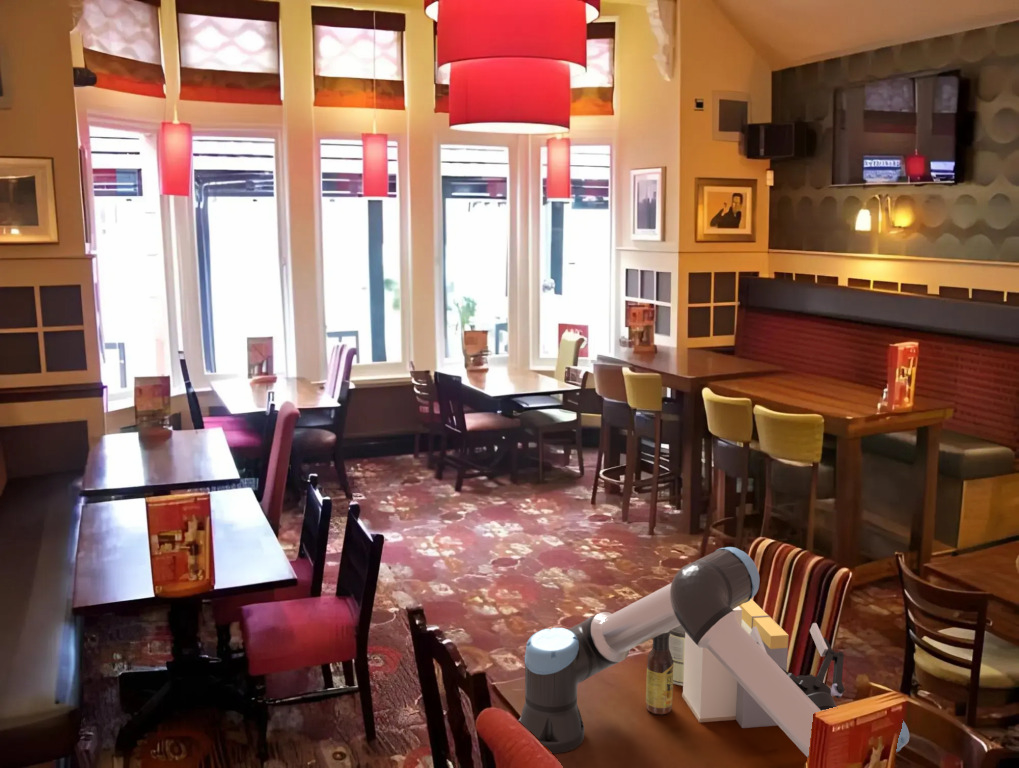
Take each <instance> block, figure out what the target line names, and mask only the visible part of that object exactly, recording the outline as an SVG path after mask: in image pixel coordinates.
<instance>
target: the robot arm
mask: <svg viewBox="0 0 1019 768" xmlns="http://www.w3.org/2000/svg"><path fill="white" fill-rule="evenodd" d="M760 578H761V577H760V574H759V570H758V567H757V565H756V563H755V562H754V560H753V559H752V558H751V556H749V554H748V553H746V552H745V551H743V550H741V549H739V548H737V547H733V546H726V547H720V548H718V549H715V551H714V552H712V553H709V554H707V555H705V556H703V557H701V558H699V559H697V560H694V561H693V562H690V563H688V564H685V565H684V566H683V567H681V568H680V569H679V570H678V571H677V572H676V573H675V575H674V577H673V579H672V580H671V582H670V583H669V584H666V585H665V586H662V587H661V588H659V589H656V590H655V591H654V592H652V593H649V594H647V595H646V596H644V597H642V598H640V599H638V600H636V601H634V602H632V603H630V604H628V605H627V606H624V607H623V608H621V609H619V610H616V611H615V612H613V613H611V612H609V611H607V612H606V611H602V612H599V613H596V614H595V615H593V616H591V617H589V618H586V619H585V620H584V621H582V622H580V623H578V624H576V625H573V626H572V627H570V628H568V629H567V628H564V627H552V628H543V629H541V630H538V631H537V632H535V633H533V634H532V635H531V636H530V637H529V639H528V640H527V642H526V646H525V652H524V653H525V654H524V670H525V671H524V681H525V682H524V683H525V684H524V685H525V686H524V687H525V689H524V693H525V695H524V699H525V701H524V704H523V707H522V710H521V715H520V717H519V719H518V721H520V722H521V723H522V724H523V725H524V726H525V727H526V728H527V729H528V730H529V731H531V732H532V733H533V734H534V735H535V736H536V737H537V738H538V739H539V741H540V742H541V743H542V744H543V745H544V746H546V747H547V748H548V749H549V750H550V751H551V752H552V753H551V754H561V753H566V752H569V751H573V750H574V749H576V748H578V747H579V746H580V745H581V744H582V743H583V742H584V739H585V724H584V722H583V717H582V715H581V712H580V709H579V706H578V685H579V684H580V683H582V682H584V681H585V680H587V679H590V678H591V677H593V676H594V675H596V674H597V673H600V672H602V671H604V670H605V669H608V668H610V667H612V666H614V665H616V664H618V663H620V662H623V661H624V660H625V659H626V658H627V657H628V656H629V654H630V651H631V650H632V649H634V648H636V647H638V646H639V645H642V644H644V643H646V642H649V641H650V640H653V638H655V637H657V636H659V635H661V634H663V633H665V632H667V631H669V630H671V629H673V628H676V627H678V626H680V625H681V626H682V628H683V629H684V630H685V632H686V633H687V634H688V635H689V637H690V638H691V639H692V640H693V641H694V642H695V643H696V645H697V646H698V647H700V648H707V649H708V650H709V651H710V652H711V653H712V654H713V655H714V656H715V657H716V658H717V659H718V660H719V662H720V663H721V664H722V665H723V666H724V667H725V668H726V669H727V670H728V671H729V672H730V674H731V675H732V676H733V677H734V678H735V679H736V680H737V681H738V682H739V683H740V684H741V686H742V687H743V688H744V689H745V690H746V691H747V692H748V693H749V694H750V695H751V696H752V698H753V699H754V700H755V701H756V702H757V703H758V704H759V705H760V706H761V707H762V708H763V710H764V711H765V712H766V713H767V714H768V715H769V716H770V717H771V718H772V719H773V720H774V721H775V723H776V724H777V725H776V726H778V727H779V728H780V729H781V730H782V731H783V733H785V735H786V736H787V737H788V738H789V739H790V740H791V741H792V742H793V744H794V745H796V747H797V748H798V749H799V750H800V751H801V753H803V754H804V756H806V757H807V758H808V757H809V747H810V738H811V729H812V722H813V714H814V713H815V712H819V711H822V710H826V709H829V708H833V707H837V708H838V706H837V704H836V702H835V699H834V697H835V698H836V699H841V697H842V696H843V694H844V692H845V687H844V683H843V671H844V656H845V655H844V653H843V652H842V651H838V652H837V651H834V650H833V649H832V646H831V644H830V642H829V640H828V639H827V638H826V637H824V636H823V635H822V632H821V630H820V628H819V626H818V624H817V622H813V623H812V624H811V627H810V629H809V633H810V634H811V637H812V638H811V639H813V641H814V644H815V646H816V648H817V651H818V654H819V655H820V657H822V658H823V657H824V659H823V661H822V664H821V666H820V669H819V671H818V673H817V676H815V675H813V674H812V673H811V674H806V675H802V674H801V675H800V674H799V675H797V676H796V675H795V674H794V673H792V672H788V671H785V670H784V669H782V668H781V667H780V666H778V665H777V664H776V663H775V661H774V660H773V659H772V658H771V657H770V656H769V655H768V654H767V652H766V650H765V647H764V644H763V642H762V639H761V637H760V634H759V632H758V629H757V627H753V628H752V631H751V633H750V635H749V634H748V633H747V632H746V631H745V630H744V629H743V628H742V627H741V626H740V625H739V624H738V622H737V621H736V613H735V612H734V610H733V609H734V608H736V607H738V606H740V605H741V604H743V603H746V602H748V601H750V599H752V598H754V597H755V596H756V595H757V593H758V592H759V591H758V590H759V588H760V580H761V579H760ZM832 661H833V671H832V672H833V675H832V685H831V687H830V686H828V685H827V684H826V683H825V682H824V679H825V677H826V673H827V671H828V669H829V667H830V665H831V662H832ZM833 696H834V697H833ZM909 741H910V731H909V729H908V726H907V724H906V722H905V721H904V720H903V723H902V729H901V732H900V735H899V738H898V743H897V749H896V753H898V752H901V750H902V748H903V747H904V746H906V745H907V744H908V743H909Z"/></svg>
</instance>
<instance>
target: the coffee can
mask: <svg viewBox="0 0 1019 768" xmlns="http://www.w3.org/2000/svg"><path fill="white" fill-rule="evenodd" d="M669 650H670V653H671V656H672V659H673V662H674V667H673V685H677V686H681V687H683V681H684V654H685V630H684V629H683V628H682V626H681V625H680V626H678V627H676V628H673V629H671V630H670V636H669Z"/></svg>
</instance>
